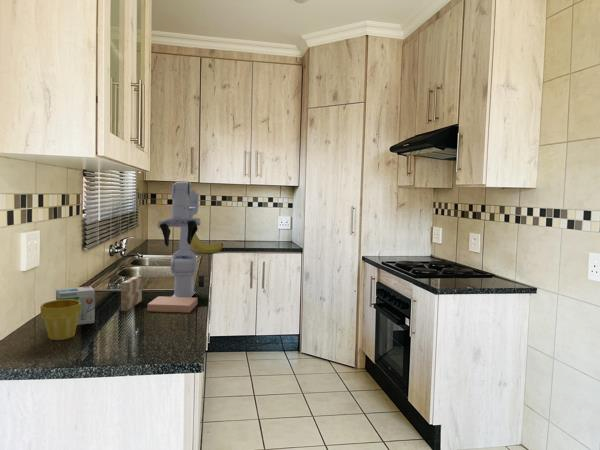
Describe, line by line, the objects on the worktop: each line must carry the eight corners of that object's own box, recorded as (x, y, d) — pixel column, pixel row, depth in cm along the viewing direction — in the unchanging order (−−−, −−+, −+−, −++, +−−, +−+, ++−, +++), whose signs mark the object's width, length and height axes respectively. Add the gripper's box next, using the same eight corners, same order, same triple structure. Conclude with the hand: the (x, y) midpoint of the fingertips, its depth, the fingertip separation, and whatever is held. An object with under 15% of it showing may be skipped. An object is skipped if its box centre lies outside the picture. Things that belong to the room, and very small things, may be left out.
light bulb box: (58, 327, 137) (58, 293, 137) (55, 322, 143) (54, 288, 142) (95, 322, 144) (95, 289, 143) (91, 317, 149) (91, 285, 148)
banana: (222, 252, 316) (223, 224, 314) (223, 253, 310) (223, 225, 309) (189, 252, 310) (189, 224, 308) (189, 254, 304) (190, 224, 303)
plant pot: (35, 343, 123) (35, 308, 122) (47, 331, 133) (47, 299, 132) (76, 341, 125) (76, 307, 125) (85, 330, 135) (85, 298, 135)
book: (158, 304, 171) (158, 296, 171) (197, 305, 171) (197, 297, 171) (147, 312, 159) (147, 304, 159) (189, 313, 159) (189, 305, 159)
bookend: (136, 300, 173) (136, 275, 172) (141, 300, 173) (141, 275, 172) (120, 310, 158) (121, 282, 157) (126, 311, 158) (126, 283, 157)
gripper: (156, 206, 157) (153, 240, 150) (197, 202, 157) (196, 236, 150) (162, 216, 163) (159, 249, 156) (202, 213, 163) (200, 246, 157)
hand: (177, 244), depth 154 cm, fingers open, 7 cm apart
